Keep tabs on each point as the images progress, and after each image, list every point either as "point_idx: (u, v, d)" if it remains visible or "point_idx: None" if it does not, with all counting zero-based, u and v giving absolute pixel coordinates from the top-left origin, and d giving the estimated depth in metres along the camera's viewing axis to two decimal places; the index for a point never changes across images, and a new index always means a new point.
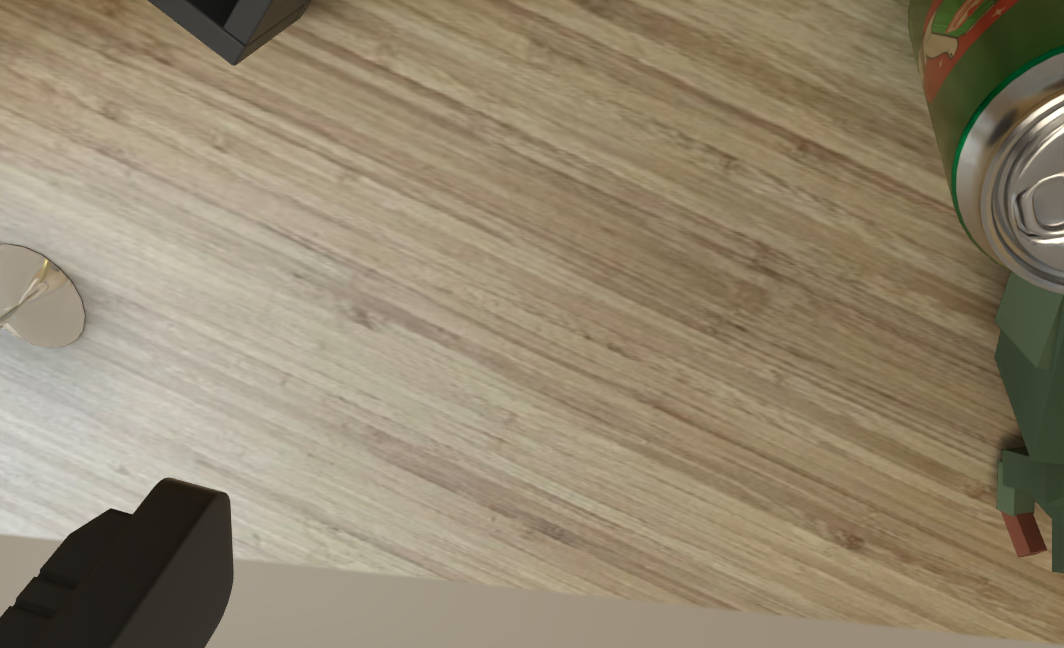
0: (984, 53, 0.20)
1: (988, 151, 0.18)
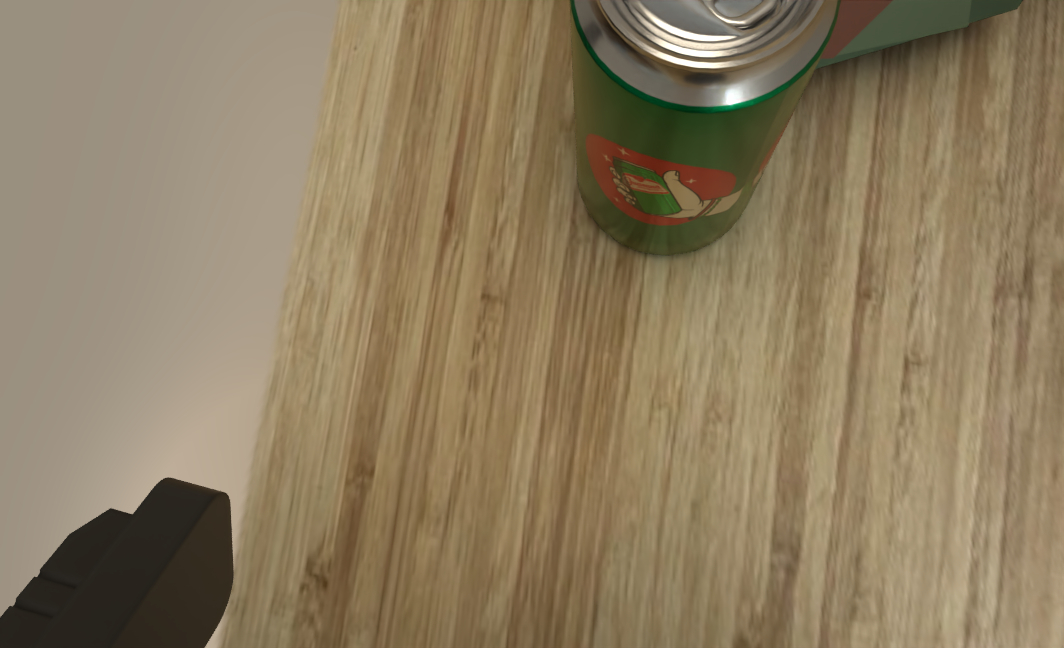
0: (649, 139, 0.20)
1: (714, 77, 0.18)
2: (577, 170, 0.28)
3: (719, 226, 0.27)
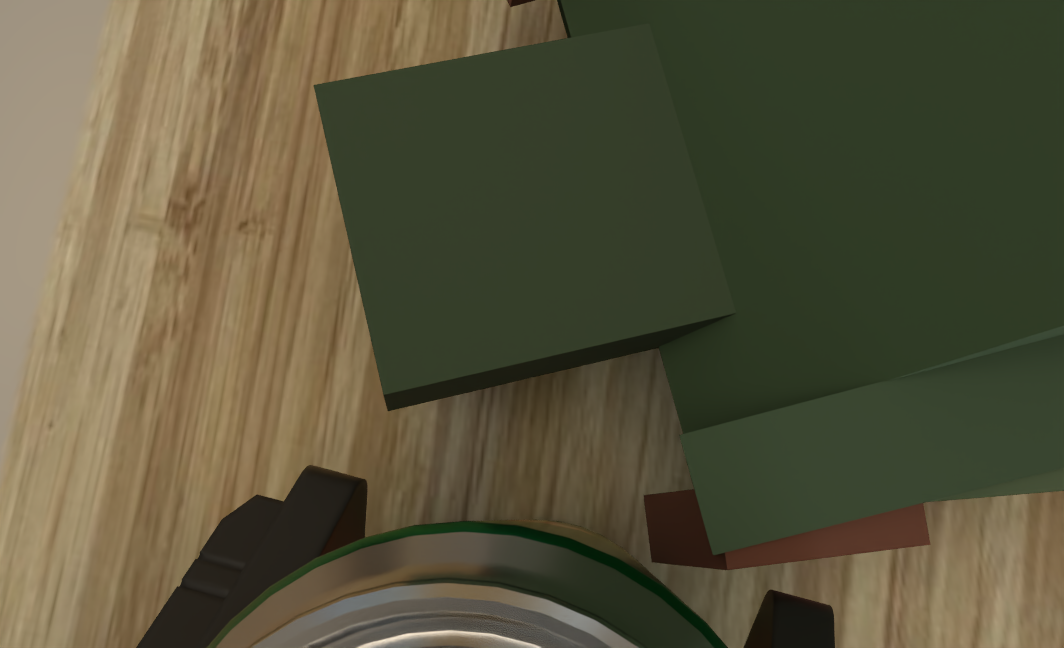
0: None
1: None
2: None
3: None
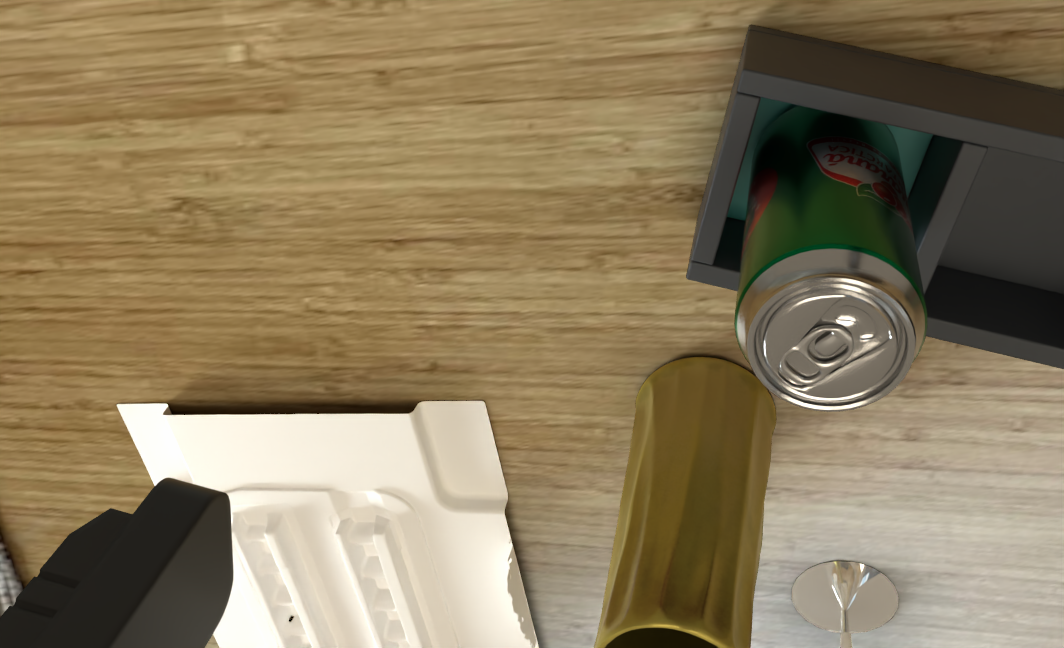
0: (740, 274, 0.30)
1: None
2: (803, 115, 0.34)
3: None
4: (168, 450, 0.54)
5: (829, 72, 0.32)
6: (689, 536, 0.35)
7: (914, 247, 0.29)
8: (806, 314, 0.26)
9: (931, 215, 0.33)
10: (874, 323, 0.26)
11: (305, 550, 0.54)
